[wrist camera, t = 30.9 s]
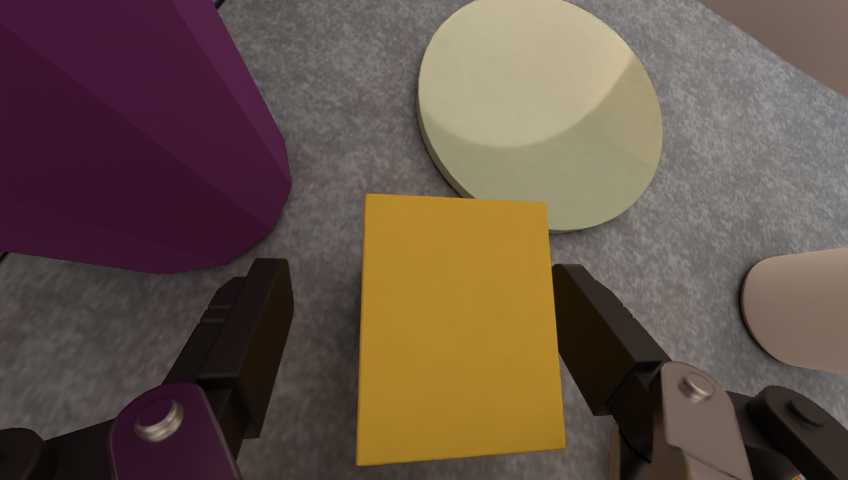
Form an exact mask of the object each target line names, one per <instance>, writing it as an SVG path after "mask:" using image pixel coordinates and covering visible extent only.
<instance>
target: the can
mask: <svg viewBox="0 0 848 480" xmlns="http://www.w3.org/2000/svg"><path fill="white" fill-rule="evenodd" d="M740 305H741V311H742V315H743V319H744V321H745V324H746V326H747V328H748V330H749V332H750V334H751V335H752V337H753V338H754V339H755V341H756V342H757V343H758V344H759V345H760V346H761V347H762V348H763V349H764V350H765V351H767V352H768V353H769V354H770V355H772V356H773V357H774V358H776V359H777V360H779V361H781V362H783V363H785V364H788V365H792V366H796V367H802V368H808V369H815V370H821V371H828V372H834V373H841V374H848V247H847V248H839V249H831V250H823V251H815V252H807V253H799V254H791V255H783V256H776V257H771V258H767V259H764V260H762V261H760V262H758V263H757V264H756V265H755V266H754V267H753V268H752V269H751V270H750V271H749V272H748V273H747V275H746V277H745V279H744V281H743V285H742V289H741V295H740Z"/></svg>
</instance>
